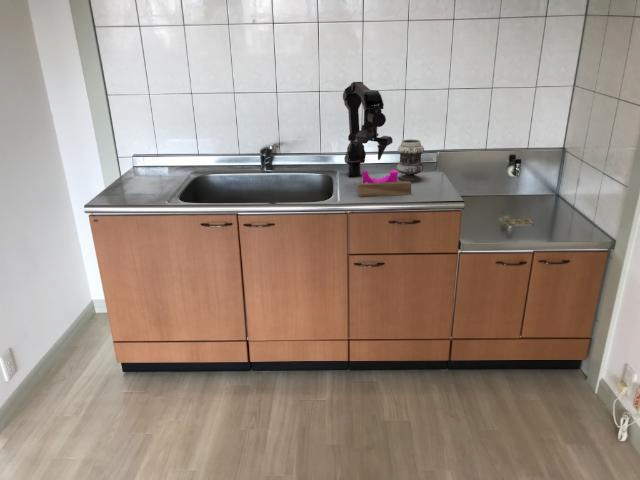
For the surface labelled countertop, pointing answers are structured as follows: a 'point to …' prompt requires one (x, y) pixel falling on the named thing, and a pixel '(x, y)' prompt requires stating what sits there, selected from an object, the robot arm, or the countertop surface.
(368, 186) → the walnut board
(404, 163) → the apothecary jar
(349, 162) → the robot arm
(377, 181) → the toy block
